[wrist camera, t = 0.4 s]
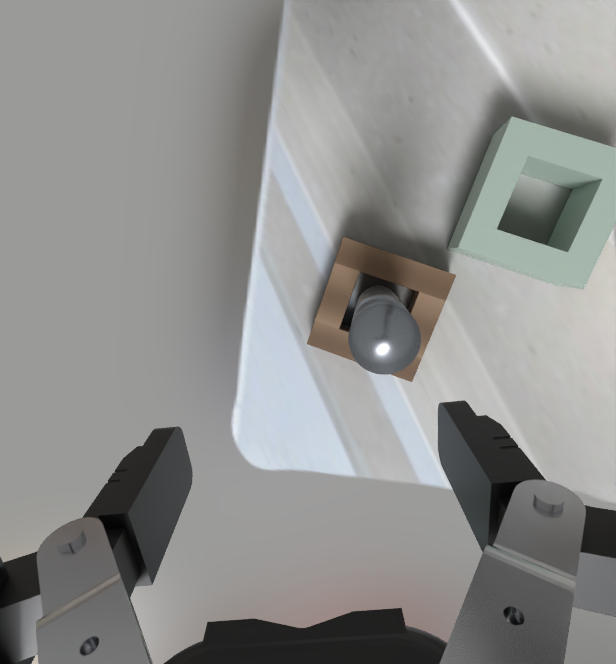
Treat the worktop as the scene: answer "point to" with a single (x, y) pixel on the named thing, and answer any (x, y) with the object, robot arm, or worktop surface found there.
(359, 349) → the ball
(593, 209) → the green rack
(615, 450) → the worktop surface
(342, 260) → the walnut socket
